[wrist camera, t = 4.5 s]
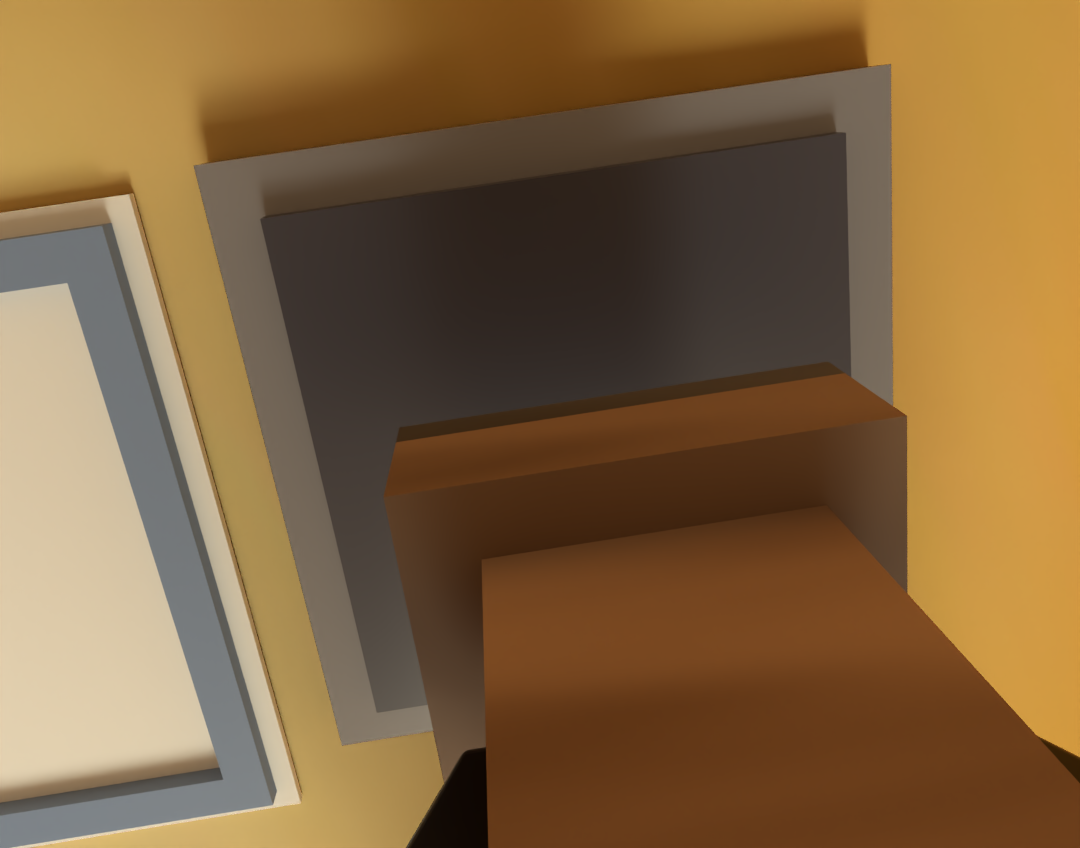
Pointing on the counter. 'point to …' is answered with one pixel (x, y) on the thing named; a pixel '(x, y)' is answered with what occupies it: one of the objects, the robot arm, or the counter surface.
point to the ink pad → (533, 300)
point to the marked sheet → (114, 555)
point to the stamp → (702, 628)
